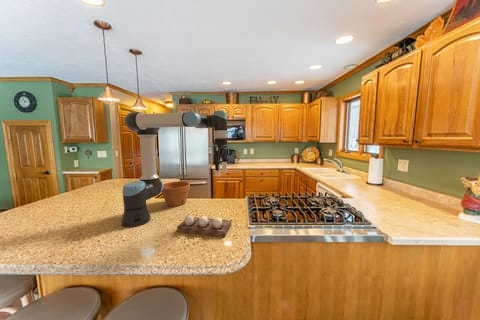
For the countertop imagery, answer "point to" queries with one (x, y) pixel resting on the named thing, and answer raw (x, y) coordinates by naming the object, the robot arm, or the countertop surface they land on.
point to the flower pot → (175, 193)
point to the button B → (203, 221)
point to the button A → (189, 220)
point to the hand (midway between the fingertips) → (221, 174)
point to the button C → (217, 222)
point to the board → (205, 228)
